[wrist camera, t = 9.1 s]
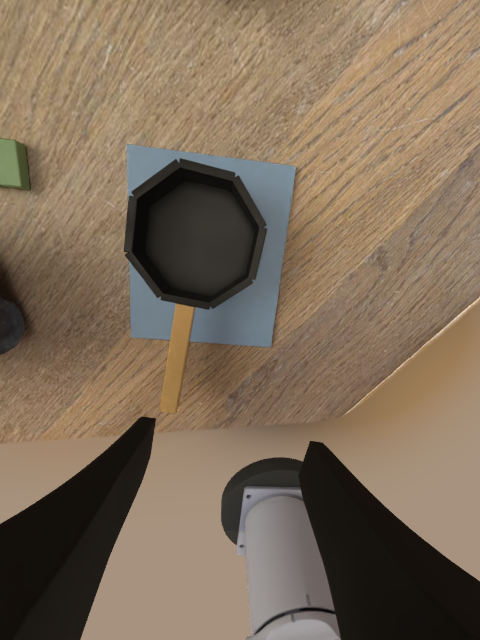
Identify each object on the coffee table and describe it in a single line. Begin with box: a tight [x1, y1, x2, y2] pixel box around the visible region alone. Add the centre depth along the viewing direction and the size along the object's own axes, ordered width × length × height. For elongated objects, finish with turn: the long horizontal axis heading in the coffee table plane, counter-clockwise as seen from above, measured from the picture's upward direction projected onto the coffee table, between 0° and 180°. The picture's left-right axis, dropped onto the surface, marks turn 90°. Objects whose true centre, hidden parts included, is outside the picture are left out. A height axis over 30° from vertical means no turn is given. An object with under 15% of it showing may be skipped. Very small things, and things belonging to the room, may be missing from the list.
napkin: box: [127, 144, 296, 347], centre depth 18 cm, size 13×11×1 cm
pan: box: [124, 158, 267, 414], centre depth 17 cm, size 16×8×3 cm, turn 168°
